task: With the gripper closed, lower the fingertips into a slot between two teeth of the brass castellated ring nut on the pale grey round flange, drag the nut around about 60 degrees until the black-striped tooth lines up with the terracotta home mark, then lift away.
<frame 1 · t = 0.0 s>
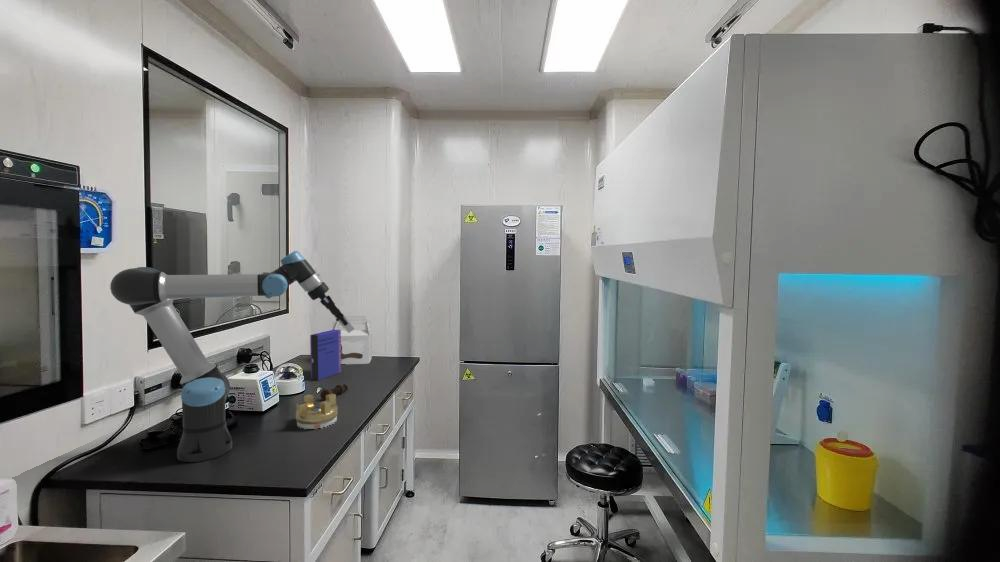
hand: (348, 328, 175), 36 cm above the table, tool tilted 35°, fingers open, 13 cm apart
ring nut: (317, 407, 168), point 6 cm above the table, hinge at 0.0°
bolt: (336, 396, 200), on the table
gable box: (352, 362, 264), on the table
mounting flange: (317, 422, 168), on the table
cereal box: (326, 376, 232), on the table
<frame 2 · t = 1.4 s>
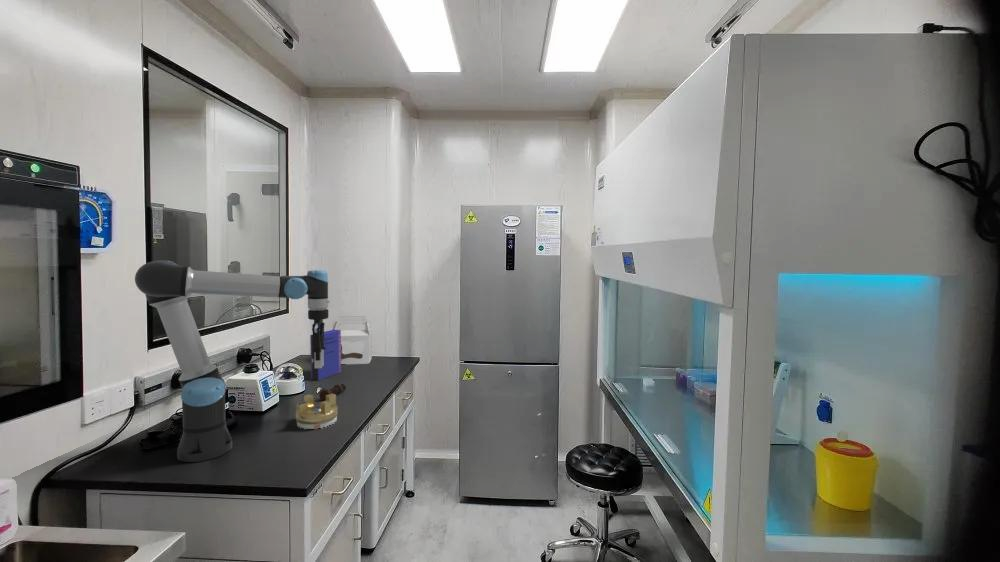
hand: (319, 366, 173), 21 cm above the table, tool pointing down, fingers open, 3 cm apart
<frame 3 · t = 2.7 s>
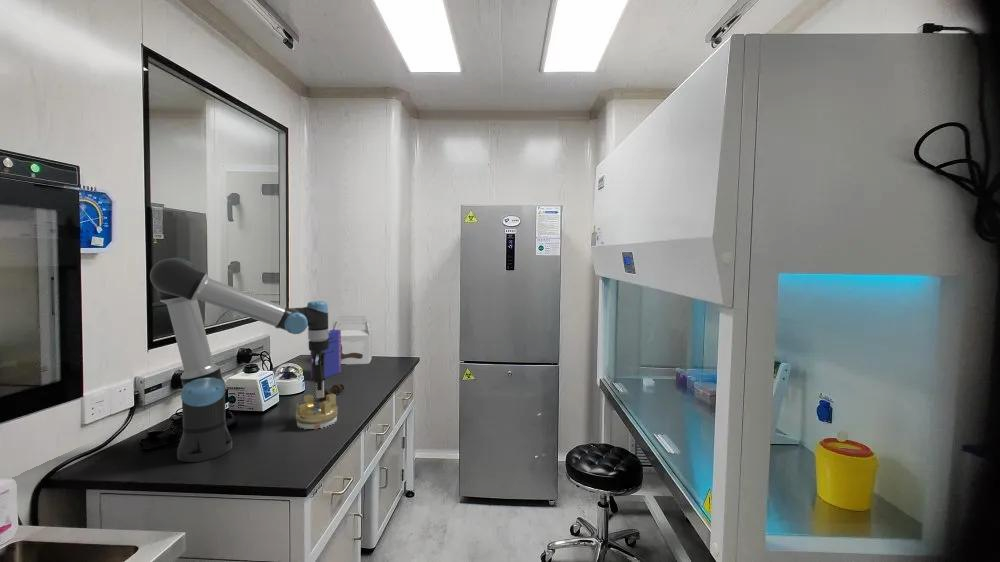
hand: (320, 397, 174), 8 cm above the table, tool pointing down, fingers closed
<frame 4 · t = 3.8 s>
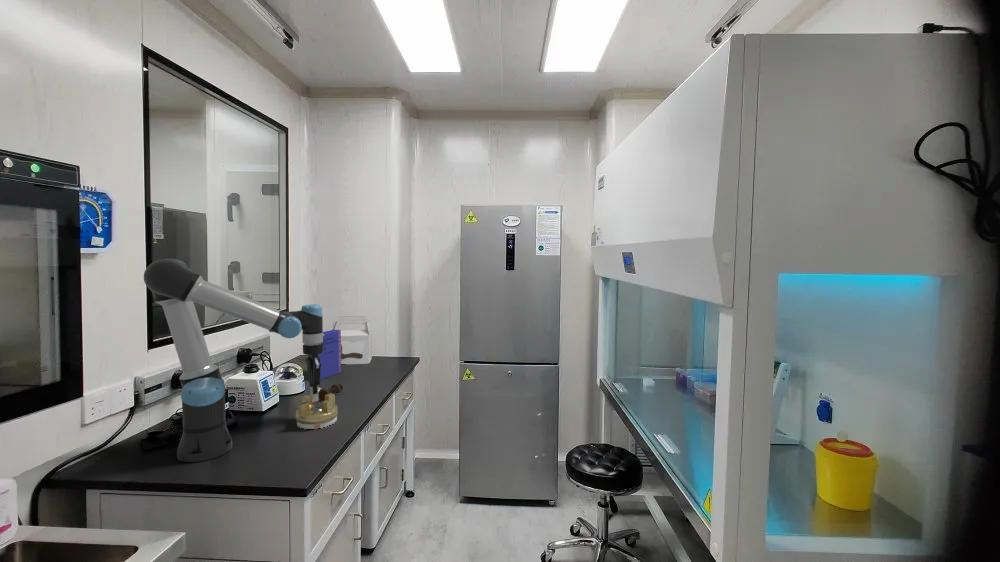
hand: (314, 401, 173), 7 cm above the table, tool pointing down, fingers closed
ring nut: (317, 407, 168), point 6 cm above the table, hinge at 6.8°, touching gripper
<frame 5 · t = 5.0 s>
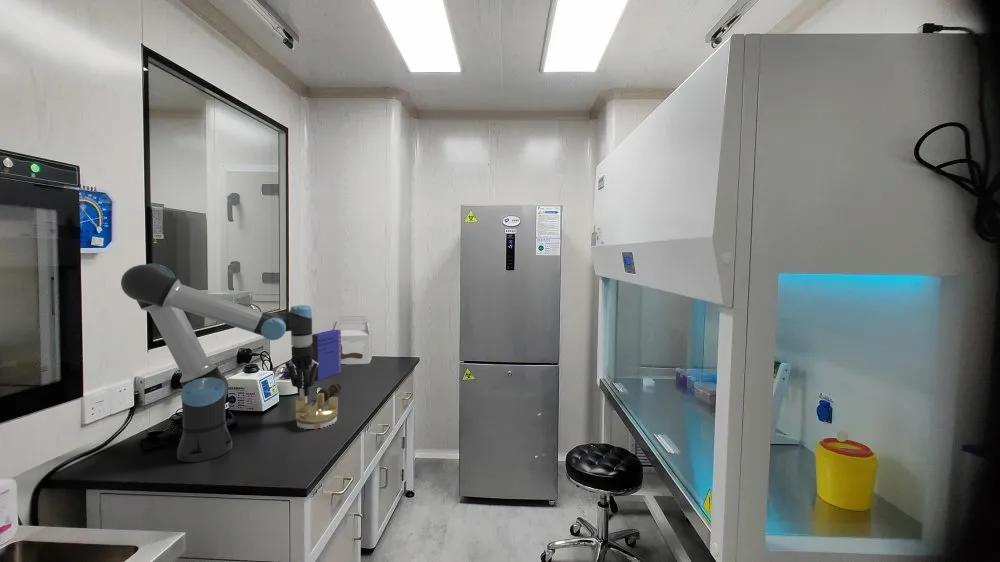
hand: (303, 403, 170), 7 cm above the table, tool pointing down, fingers closed
ring nut: (317, 407, 168), point 6 cm above the table, hinge at 48.3°, touching gripper
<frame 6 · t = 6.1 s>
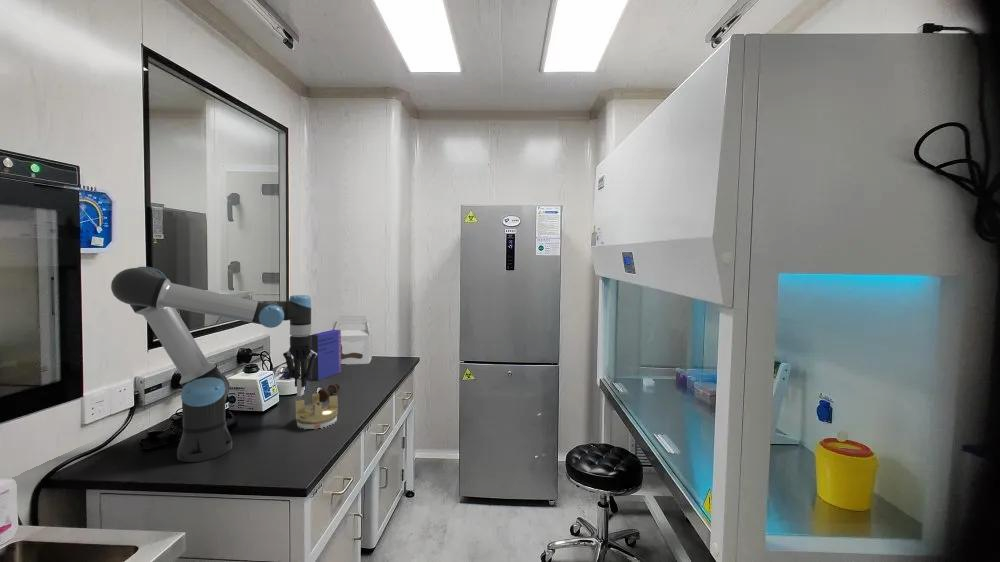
hand: (300, 394, 168), 11 cm above the table, tool pointing down, fingers closed
ring nut: (317, 407, 168), point 6 cm above the table, hinge at 63.8°
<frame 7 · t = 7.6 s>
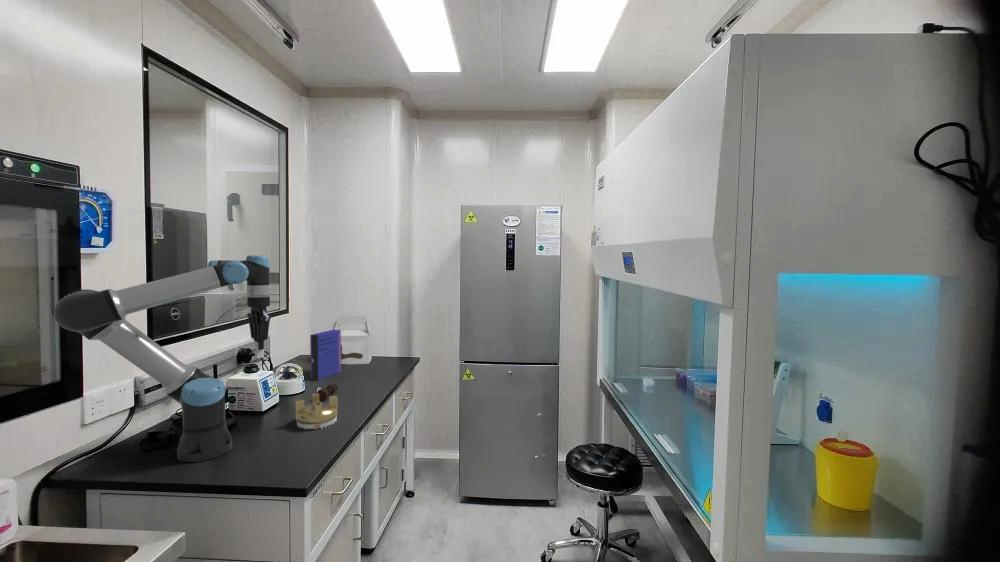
hand: (259, 357, 164), 26 cm above the table, tool pointing down, fingers closed
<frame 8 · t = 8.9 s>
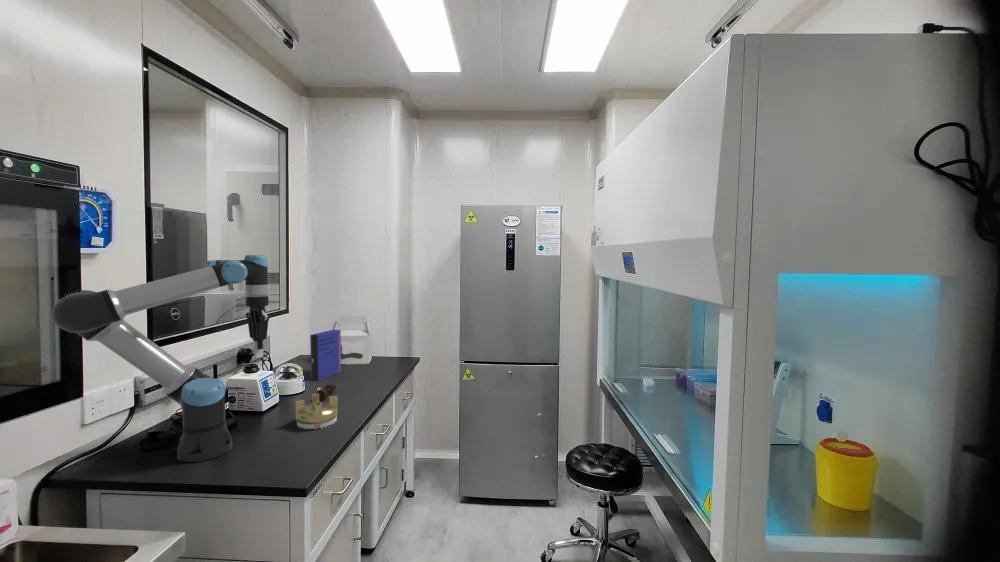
hand: (258, 357, 164), 26 cm above the table, tool pointing down, fingers closed
at the end: ring nut at +64° (first picture: +0°); the gripper is holding nothing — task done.
